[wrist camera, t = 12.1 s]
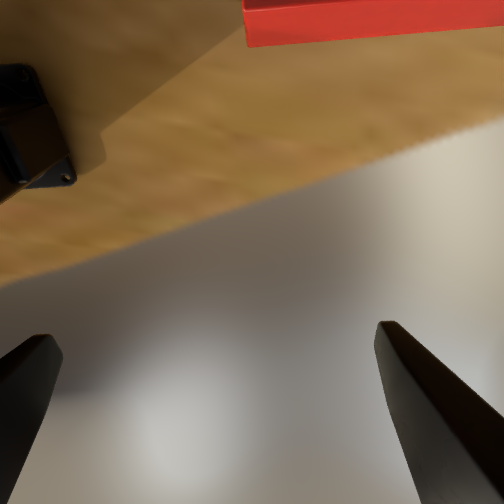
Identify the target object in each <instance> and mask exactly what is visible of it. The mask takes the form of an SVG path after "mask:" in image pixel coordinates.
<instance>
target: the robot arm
mask: <svg viewBox="0 0 504 504" xmlns="http://www.w3.org/2000/svg"><path fill="white" fill-rule="evenodd" d="M22 70H24V71H25V72H26V74H27V77H28V78H27V79H26V78H24V77H23V75H22V72H21V71H22ZM64 174H65V175H68V176H69V178H70V180H68V179H67V178H66V177H65V175H64ZM76 181H77V175H76V172H75V170H74V167H73V165H72V162H71V160H70V157H69V150H68V147H67V145H66V142H65V140H64V137H63V135H62V132H61V130H60V127H59V124H58V122H57V119H56V117H55V114H54V112H53V109H52V108H51V107H50V106H49V104H48V102H47V99H46V97H45V94H44V92H43V89H42V87H41V84H40V82H39V79H38V77H37V74H36V72H35V70H34V69H33V68H32V67H31V66H30V65H28V64H26V63H14V64H2V65H0V205H1V204H2V203H4V202H5V201H7V200H8V199H9V198H11V197H12V196H14V195H15V194H16V193H18V192H19V191H21V190H22V189H33V188H49V187H64V186H71V185H73V184H74V183H75V182H76ZM374 349H375V354H376V358H377V363H378V367H379V372H380V376H381V380H382V384H383V389H384V393H385V397H386V402H387V406H388V409H389V412H390V415H391V418H392V421H393V423H394V427H395V429H396V432H397V435H398V438H399V441H400V444H401V446H402V449H403V452H404V455H405V458H406V461H407V464H408V467H409V469H410V472H411V475H412V478H413V481H414V484H415V486H416V489H417V492H418V495H419V498H420V501H421V504H504V417H503V416H501V415H500V414H499V413H498V412H497V411H496V410H495V409H494V408H493V407H491V406H490V405H489V404H488V403H487V402H486V401H485V400H484V399H483V398H481V397H480V396H479V395H478V394H477V393H476V392H475V391H473V390H472V389H471V388H470V387H469V386H468V385H467V384H466V383H465V382H463V381H462V380H461V379H460V378H459V377H458V376H457V375H456V374H454V373H453V372H452V371H451V370H450V369H449V368H448V367H447V366H446V365H444V364H443V363H442V362H441V361H440V360H439V359H438V358H437V357H435V356H434V355H433V354H432V353H431V352H430V351H429V350H428V349H426V348H425V347H424V346H423V345H422V344H421V343H420V342H419V341H417V340H416V339H415V338H414V337H413V336H412V335H411V334H410V333H409V332H407V331H406V330H405V329H404V328H403V327H402V326H401V325H400V324H398V323H397V322H395V321H380V322H379V323H378V326H377V330H376V335H375V340H374ZM62 361H63V352H62V350H61V348H60V347H59V346H58V344H57V342H56V340H55V339H54V337H53V336H52V335H50V334H36V335H33V336H31V337H30V338H29V339H27V340H26V341H24V342H23V343H22V344H21V345H19V346H18V347H16V348H15V349H13V350H12V351H10V352H9V353H8V354H6V355H5V356H4V357H2V358H1V359H0V504H7V502H8V500H9V498H10V495H11V493H12V491H13V489H14V486H15V484H16V482H17V479H18V477H19V475H20V472H21V470H22V468H23V465H24V463H25V461H26V459H27V456H28V454H29V452H30V449H31V447H32V445H33V442H34V440H35V438H36V435H37V433H38V431H39V428H40V426H41V424H42V421H43V419H44V416H45V414H46V411H47V408H48V405H49V402H50V399H51V396H52V393H53V390H54V387H55V384H56V381H57V377H58V374H59V371H60V368H61V365H62Z"/></svg>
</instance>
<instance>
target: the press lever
mask: <svg viewBox="0 0 504 504" xmlns="http://www.w3.org/2000/svg"><path fill="white" fill-rule="evenodd" d="M242 11H243V18H244V25H245V33H246V40H247V45H248V47H261V46H273V45H284V44H296V43H307V42H319V41H331V40H342V39H354V38H365V37H377V36H388V35H400V34H411V33H423V32H434V31H446V30H457V29H469V28H480V27H492V26H503V25H504V0H242Z"/></svg>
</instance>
